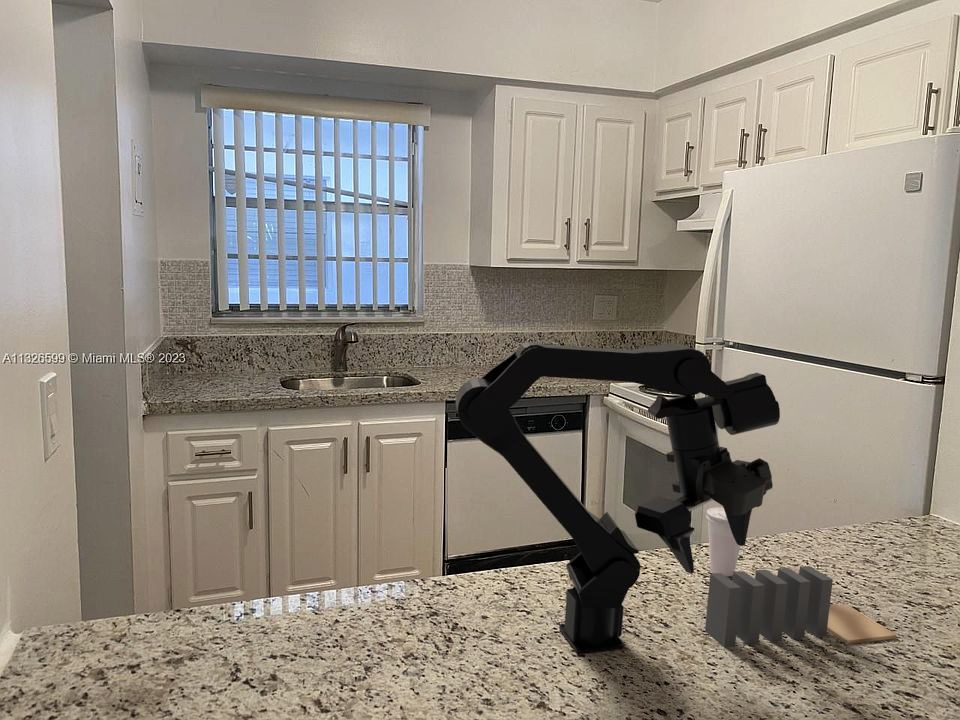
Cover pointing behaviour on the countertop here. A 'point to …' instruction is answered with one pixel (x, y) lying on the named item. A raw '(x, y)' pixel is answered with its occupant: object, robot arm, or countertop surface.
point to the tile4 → (795, 603)
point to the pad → (855, 626)
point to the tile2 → (749, 607)
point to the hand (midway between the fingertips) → (716, 558)
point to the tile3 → (772, 605)
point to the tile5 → (817, 601)
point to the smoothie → (721, 543)
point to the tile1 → (722, 609)
